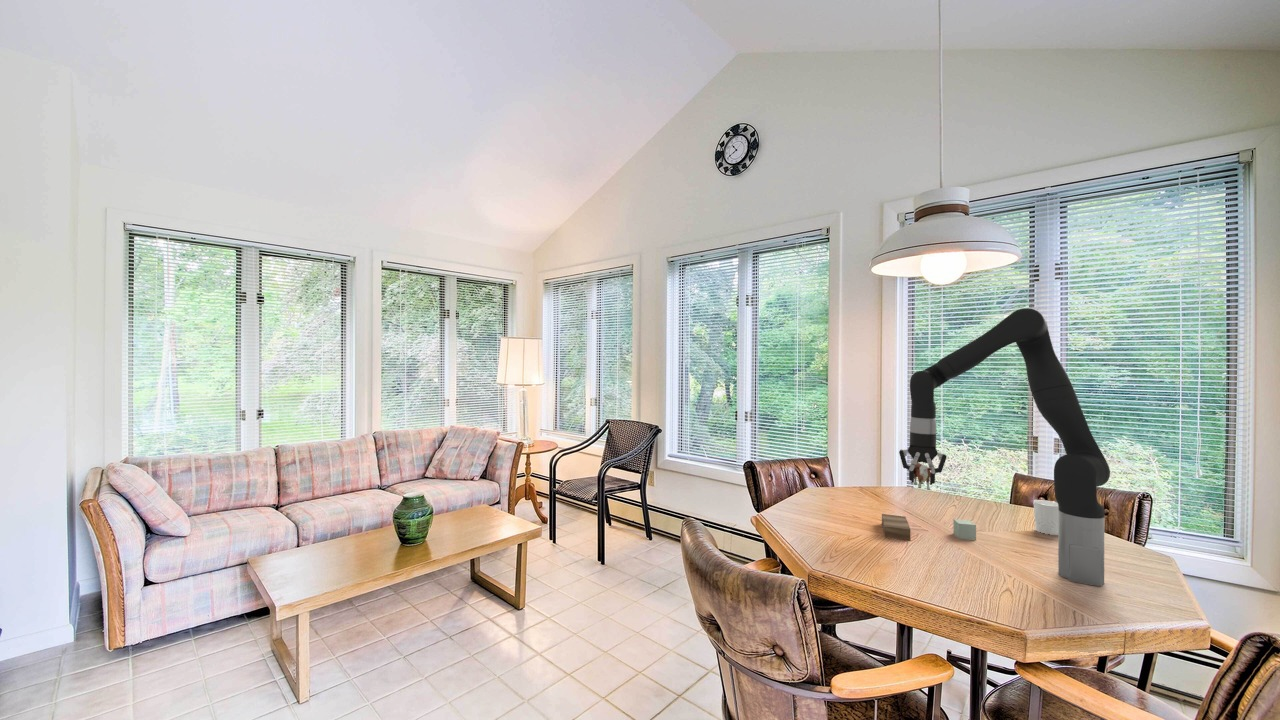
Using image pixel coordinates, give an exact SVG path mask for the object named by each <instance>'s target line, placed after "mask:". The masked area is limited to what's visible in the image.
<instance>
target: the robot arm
mask: <svg viewBox="0 0 1280 720" xmlns="http://www.w3.org/2000/svg"><path fill="white" fill-rule="evenodd" d="M1048 326H1049V325H1048V321H1046V318H1045V317H1044V316H1043V314H1042V313H1041V312H1040V311H1038V309H1034V308H1029V307H1026V308H1025V307H1023V308H1020V309H1019V308H1018V309H1016V310H1015V311H1013V312H1012V313H1010V314H1009V315H1008V316H1006V317H1005V318H1004V319H1003V320H1001V321H1000V322H998V323H997V324H996V325H995V326H994V327H992V328H990V329H989V330H988V331H986V332H985V333H983V334H982V335H980V336H979V337H977V338H976V339H973V340H972V341H970V342H969V343H967V344H965V345H963V346H962V347H960V348H958V349H956V350H955V351H952V352H950V353H949V354H947V355H945V356H944V357H942V358H941V359H939V360H938V361H937V362H936V363H934V364H932V365H931V366H929V367H927V368H925V369H922V370H918V371H915V372H913V374H912V375H911V377H910V380H909V390H910V392H909V393H910V400H911V408H910V410H911V412H910V413H911V414H910V422H909V447H908V448H907V449H899V451H898V453H899V457H900V461H901V464H902V467H903V469H906V470H907V471H908V479H909V481H911V482H910V483H911V484H914V467H915V465H916V463H917V462H919V463H924V464H927V465H928V468H932V470H930V474H931V475H930V480H929V486H930V485H931V486H933V484H935V483H936V474H939V473H942V471H943V469H944V467H945V464H946V460H947V457H948V456H947V454H946V453H941V452H938V450H937V431H938V430H937V419H936V417H937V407H936V402H935V397H934V395H935V392H934V391H935V390H936V389H937V388H939V387H940V386H942V385H944V384H945V383H947V382H949V381H950V380H952V379H954V378H957V377H959V376H960V375H962V374H964V373H966V372H968V371H970V370H971V369H974V368H975V367H977V366H978V365H980V364H981V363H982V362H983V361H985V360H987V359H988V358H989V357H990V356H991V355H993V354H995V353H996V352H998V351H1000V350H1001V349H1003V348H1005V347H1007V346H1009V345H1013V344H1016V346H1017V347H1018V349H1019V351H1020V353H1021V356H1022V358H1023V360H1024V363H1025V369H1026V374H1027V376H1026V377H1027V380H1028V386H1029V389H1030V392H1031V395H1032V398H1033V401H1034V404H1035V405H1036V408H1037V409H1038V412H1039V413H1040V414H1041V416H1042V417H1043V418H1044V420H1045V421H1046V422H1047V423H1048V425H1050V427H1051V428H1052V429H1053V430H1054V431H1055V432H1056V434H1057V435H1058V437H1059V439H1060V440H1061V443H1062V445H1063V448H1064V451H1065V454H1064V455H1062V456H1060V457H1059V458H1058V459H1057V460H1056V461H1055V463H1054V468H1053V484H1054V487H1053V488H1054V497H1055V500H1056V501H1055V502H1057V503H1058V509H1059V513H1058V535H1057V536H1058V537H1057V538H1058V539H1057V540H1058V541H1057V543H1058V549H1057V550H1058V551H1057V552H1058V553H1057V555H1058V556H1057V557H1058V561H1057V562H1058V564H1057V565H1058V569H1057V570H1058V571H1057V572H1058V575H1059V576H1061V577H1063V578H1065V579H1067V580H1069V582H1072V583H1073V582H1074V583H1078V584H1085V585H1089V586H1090V585H1091V586H1096V587H1102V586H1103V585H1104V584H1105V511H1106V510H1105V506H1103V505H1102V504H1101V503H1099V500H1098V496H1097V495H1098V494H1097V488H1098V487H1101V486H1103V485H1106V483H1108V482H1109V479H1110V476H1111V469H1110V467H1109V463H1108V461H1107V459H1106V457H1105V455H1104V454H1103V453H1102V451H1101V449H1100V447H1099V445H1098V443H1097V441H1096V440H1095V438H1094V436H1093V434H1092V432H1091V429H1090V427H1089V425H1088V422H1087V419H1086V416H1085V414H1084V412H1083V409H1082V407H1081V404H1080V402H1079V399H1078V396H1077V394H1076V391H1075V388H1074V385H1073V384H1072V381H1071V380H1070V378H1069V376H1068V373H1067V371H1066V370H1065V369H1064V367H1063V365H1062V363H1061V362H1060V360H1059V358H1058V356H1057V354H1056V353H1055V350H1054V346H1053V342H1052V340H1051V335H1050V331H1049V327H1048ZM908 454H909V456H910V457H911V458H912V461H911V462H910V463H911V464H910V465H909V464H908V463H907V458H906V457H907V455H908ZM936 457H938V460H939V463H938V466H937V467H936V468H935V466H934V462H933V460H934V459H935V458H936Z"/></svg>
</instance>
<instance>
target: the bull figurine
mask: <svg viewBox="0 0 1280 720" xmlns="http://www.w3.org/2000/svg"><path fill="white" fill-rule="evenodd" d="M930 470H932V468H929V466H927V465H926V464H922V463H921V462H917V463H916V465H915V467H914V483H913V485H915V486H917V489H922V485H924V484H925V483H926V490H927V491H931V488H930V475H931V474H930V472H931V471H930ZM917 480H918V481H917Z"/></svg>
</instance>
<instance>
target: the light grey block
mask: <svg viewBox="0 0 1280 720" xmlns="http://www.w3.org/2000/svg"><path fill="white" fill-rule="evenodd" d="M1058 513H1059V509H1058V503H1057V501H1053V500H1046V499H1035V500H1033V514H1034V522H1035V525H1034V526H1035V530H1036V532H1038V533H1040V532H1041V534H1043V533H1045V534H1044V535H1048V534H1050V535H1049V536H1058Z"/></svg>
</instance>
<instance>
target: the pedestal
mask: <svg viewBox="0 0 1280 720" xmlns="http://www.w3.org/2000/svg"><path fill="white" fill-rule="evenodd" d="M881 527H882V531H883V535H884V536H883V537H884V538H886V539H894V540H895V539H896V540H900V541H910V542H911V528H910V524H909V521H908V519H907V517H906V516H904V515H896V514H895V515H894V514H888V513H887V514H886V513H881Z"/></svg>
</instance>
